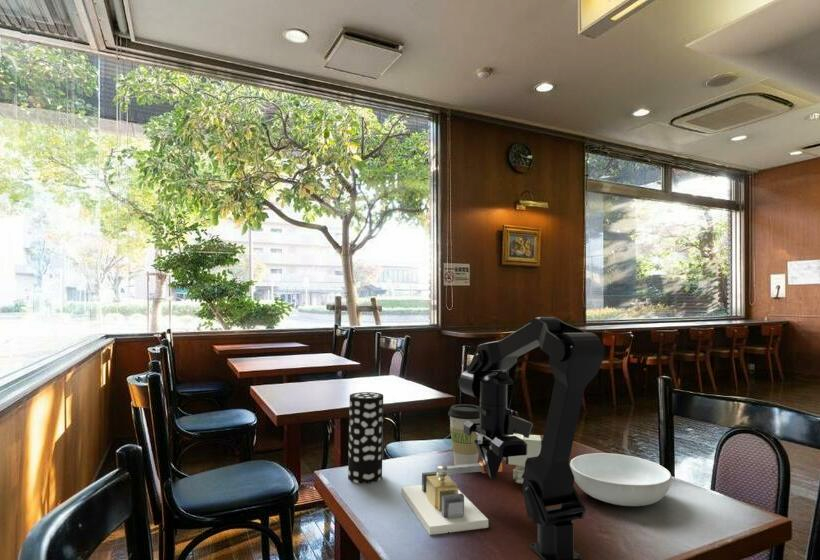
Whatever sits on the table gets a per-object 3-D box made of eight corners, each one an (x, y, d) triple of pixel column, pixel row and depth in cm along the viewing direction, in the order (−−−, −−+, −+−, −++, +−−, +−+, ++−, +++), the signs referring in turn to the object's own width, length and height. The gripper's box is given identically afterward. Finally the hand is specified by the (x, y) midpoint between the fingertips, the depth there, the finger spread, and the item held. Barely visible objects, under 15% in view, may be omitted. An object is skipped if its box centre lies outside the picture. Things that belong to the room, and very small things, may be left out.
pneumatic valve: (549, 487, 115) (550, 436, 116) (499, 483, 118) (499, 433, 118) (548, 479, 121) (548, 430, 121) (500, 475, 123) (500, 427, 124)
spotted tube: (341, 479, 119) (342, 396, 119) (360, 469, 126) (361, 391, 127) (370, 486, 115) (371, 400, 116) (388, 475, 122) (389, 394, 123)
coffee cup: (442, 459, 134) (442, 404, 135) (474, 457, 137) (475, 403, 138) (456, 472, 125) (456, 412, 126) (490, 468, 128) (491, 410, 128)
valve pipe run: (467, 517, 96) (467, 494, 96) (444, 519, 94) (444, 497, 95) (439, 486, 111) (439, 467, 111) (419, 488, 110) (419, 469, 110)
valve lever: (438, 482, 101) (438, 468, 102) (435, 478, 104) (435, 464, 104) (502, 476, 106) (502, 462, 106) (497, 472, 108) (497, 459, 108)
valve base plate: (488, 527, 95) (488, 519, 95) (429, 535, 91) (429, 526, 91) (451, 488, 114) (451, 482, 114) (401, 493, 111) (401, 486, 111)
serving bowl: (569, 476, 123) (569, 448, 124) (661, 487, 117) (661, 458, 117) (570, 510, 103) (570, 476, 104) (681, 525, 97) (681, 489, 97)
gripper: (551, 411, 97) (551, 490, 97) (506, 393, 115) (506, 460, 115) (500, 413, 94) (499, 496, 94) (463, 395, 112) (462, 464, 111)
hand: (492, 477), depth 103 cm, fingers closed
